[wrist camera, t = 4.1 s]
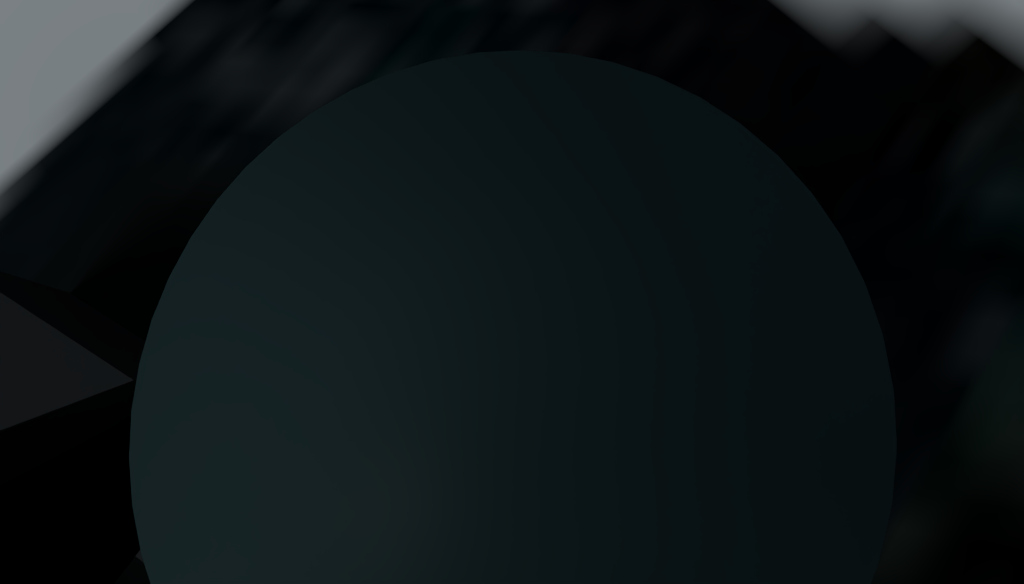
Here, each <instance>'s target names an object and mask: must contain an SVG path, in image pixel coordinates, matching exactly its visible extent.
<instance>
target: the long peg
mask: <svg viewBox="0 0 1024 584" xmlns="http://www.w3.org/2000/svg"><path fill="white" fill-rule="evenodd" d="M896 452H897V440H896V422H895V404H894V389H893V384H892V379H891V374H890V368H889V363H888V358H887V353H886V348H885V343H884V338H883V334H882V331H881V328H880V325H879V322H878V319H877V316H876V313H875V310H874V307H873V305H872V302H871V299H870V296H869V293H868V290H867V287H866V284H865V282H864V280H863V278H862V276H861V274H860V272H859V270H858V268H857V266H856V264H855V262H854V260H853V258H852V256H851V254H850V252H849V250H848V248H847V246H846V244H845V242H844V240H843V238H842V236H841V235H840V233H839V232H838V230H837V229H836V227H835V226H834V225H833V223H832V222H831V220H830V219H829V217H828V216H827V214H826V213H825V211H824V210H823V208H822V207H821V206H820V204H819V203H818V201H817V200H816V198H815V197H814V195H813V194H812V193H811V191H810V190H809V189H808V188H807V187H806V186H805V185H804V184H803V183H802V181H801V180H800V179H799V178H798V177H797V176H796V175H795V174H794V173H793V171H792V170H791V169H790V168H789V167H788V166H787V165H786V164H785V163H784V162H783V160H782V159H781V158H780V157H779V156H778V155H777V154H776V153H775V152H773V151H772V150H771V149H770V148H769V147H767V146H766V145H765V144H764V143H763V142H762V141H760V140H759V139H758V138H757V137H756V136H755V135H753V134H752V133H751V132H750V131H749V130H748V129H746V128H745V127H744V126H743V125H742V124H740V123H739V122H737V121H736V120H734V119H733V118H731V117H730V116H728V115H727V114H725V113H723V112H722V111H720V110H719V109H717V108H716V107H714V106H713V105H711V104H710V103H708V102H707V101H705V100H703V99H702V98H700V97H698V96H696V95H694V94H692V93H690V92H688V91H686V90H684V89H682V88H680V87H677V86H675V85H673V84H671V83H669V82H667V81H665V80H663V79H661V78H659V77H656V76H653V75H650V74H647V73H644V72H641V71H638V70H635V69H632V68H629V67H626V66H623V65H620V64H617V63H614V62H609V61H604V60H599V59H594V58H589V57H584V56H579V55H574V54H569V53H555V52H541V51H527V50H518V51H498V52H478V53H473V54H467V55H461V56H455V57H449V58H444V59H438V60H433V61H430V62H426V63H423V64H420V65H416V66H413V67H409V68H406V69H403V70H399V71H396V72H393V73H390V74H388V75H385V76H383V77H381V78H378V79H376V80H374V81H371V82H369V83H367V84H364V85H362V86H360V87H357V88H355V89H353V90H351V91H349V92H347V93H345V94H344V95H342V96H340V97H338V98H337V99H335V100H333V101H331V102H330V103H328V104H326V105H324V106H323V107H321V108H319V109H317V110H316V111H314V112H312V113H311V114H310V115H308V116H307V117H306V118H304V119H303V120H302V121H300V122H299V123H297V124H296V125H295V126H293V127H292V128H291V129H289V130H288V131H286V132H285V133H284V134H282V135H281V136H280V137H278V138H277V139H276V140H275V141H274V142H273V143H272V144H271V145H269V146H268V147H267V148H266V149H265V150H264V151H263V152H262V153H261V154H260V155H259V156H257V157H256V158H255V159H254V160H253V161H252V162H251V163H250V164H249V165H248V166H247V167H245V169H244V170H243V171H242V172H241V173H240V174H239V175H238V177H237V178H236V179H235V180H234V181H233V182H232V183H231V185H230V186H229V187H228V188H227V189H226V190H225V191H224V193H223V194H222V195H221V196H220V197H219V198H218V199H217V201H216V202H215V203H214V205H213V206H212V208H211V209H210V211H209V212H208V213H207V215H206V216H205V218H204V219H203V221H202V222H201V224H200V225H199V226H198V228H197V229H196V231H195V232H194V234H193V235H192V236H191V238H190V240H189V242H188V243H187V245H186V247H185V249H184V251H183V253H182V254H181V256H180V258H179V260H178V262H177V264H176V265H175V267H174V269H173V271H172V273H171V275H170V277H169V279H168V281H167V284H166V286H165V288H164V291H163V293H162V296H161V298H160V301H159V303H158V306H157V308H156V310H155V313H154V315H153V318H152V321H151V324H150V328H149V331H148V335H147V338H146V342H145V345H144V349H143V352H142V356H141V359H140V363H139V368H138V374H137V380H136V386H135V392H134V398H133V404H132V410H131V429H130V449H129V465H130V480H131V495H132V507H133V513H134V518H135V523H136V529H137V534H138V539H139V545H140V550H141V555H142V558H143V561H144V564H145V567H146V571H147V574H148V577H149V580H150V583H151V584H871V581H872V578H873V576H874V573H875V571H876V568H877V566H878V563H879V559H880V555H881V550H882V546H883V542H884V537H885V533H886V529H887V524H888V520H889V516H890V511H891V507H892V498H893V487H894V475H895V463H896Z"/></svg>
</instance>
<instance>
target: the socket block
mask: <svg viewBox="0 0 1024 584" xmlns="http://www.w3.org/2000/svg"><path fill="white" fill-rule="evenodd" d="M145 342H146V341H144V340H143V339H141V338H140V337H138V336H137V335H135V334H133V333H132V332H130V331H129V330H127V329H126V328H124V327H122V326H121V325H119V324H118V323H116V322H114V321H113V320H111V319H110V318H108V317H107V316H105V315H103V314H102V313H100V312H99V311H97V310H96V309H94V308H92V307H91V306H89V305H88V304H86V303H85V302H83V301H81V300H80V299H78V298H77V297H75V296H74V295H72V294H70V293H69V292H65V291H62V290H59V289H56V288H52V287H49V286H46V285H42V284H39V283H36V282H33V281H29V280H26V279H23V278H20V277H16V276H13V275H10V274H7V273H3V272H0V430H3V429H5V428H8V427H10V426H13V425H16V424H18V423H21V422H24V421H26V420H29V419H32V418H34V417H37V416H40V415H42V414H45V413H48V412H50V411H53V410H56V409H58V408H61V407H64V406H66V405H69V404H72V403H74V402H77V401H80V400H82V399H85V398H88V397H90V396H93V395H95V394H98V393H101V392H103V391H106V390H109V389H111V388H114V387H117V386H119V385H122V384H125V383H127V382H130V381H133V380H135V379H137V374H138V368H139V363H140V359H141V356H142V352H143V349H144V345H145ZM136 557H137V558H138V559H140V560H141V561H142V562H144V561H143V558H142V555H141V550H140V551H139V552H138V553H137V555H136Z"/></svg>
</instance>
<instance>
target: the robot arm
mask: <svg viewBox="0 0 1024 584" xmlns="http://www.w3.org/2000/svg"><path fill="white" fill-rule="evenodd" d="M136 380H137V379H135V380H133V381H130V382H127V383H125V384H122V385H119V386H117V387H114V388H111V389H109V390H106V391H103V392H101V393H98V394H95V395H93V396H90V397H88V398H85V399H82V400H80V401H77V402H74V403H72V404H69V405H66V406H64V407H61V408H58V409H56V410H53V411H50V412H48V413H45V414H42V415H40V416H37V417H34V418H32V419H29V420H26V421H24V422H21V423H18V424H16V425H13V426H10V427H8V428H5V429H3V430H0V584H114V583H115V582H116V581H117V579H118V578H119V577H120V575H121V574H122V573H123V572H124V570H125V569H126V568H127V567H128V565H129V564H130V563H131V561H132V560H133V559H134V557H135V556H136V555H137V553H138V552H139V551H140V545H139V539H138V534H137V529H136V523H135V518H134V513H133V507H132V495H131V480H130V465H129V449H130V429H131V410H132V404H133V398H134V392H135V386H136Z"/></svg>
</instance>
